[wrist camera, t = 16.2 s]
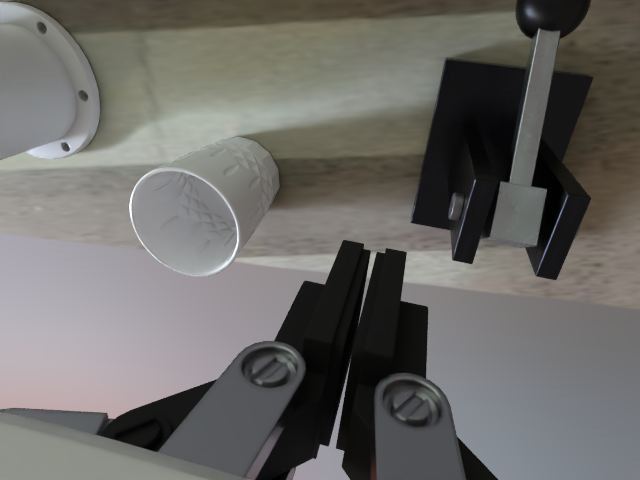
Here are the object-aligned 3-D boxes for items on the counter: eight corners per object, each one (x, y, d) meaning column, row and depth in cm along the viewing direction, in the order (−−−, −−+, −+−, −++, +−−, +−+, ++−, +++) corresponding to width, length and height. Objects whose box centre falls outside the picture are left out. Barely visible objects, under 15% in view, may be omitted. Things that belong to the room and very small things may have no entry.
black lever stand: (445, 57, 29) (449, 86, 18) (587, 74, 28) (686, 116, 17) (411, 216, 35) (399, 311, 24) (527, 238, 34) (571, 348, 23)
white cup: (272, 120, 34) (216, 157, 26) (297, 211, 37) (255, 272, 29) (187, 138, 37) (110, 178, 28) (217, 222, 40) (157, 281, 31)
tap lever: (514, -10, 24) (534, -54, 21) (579, -4, 24) (610, -48, 20) (466, 238, 24) (478, 234, 21) (530, 250, 23) (554, 248, 20)
